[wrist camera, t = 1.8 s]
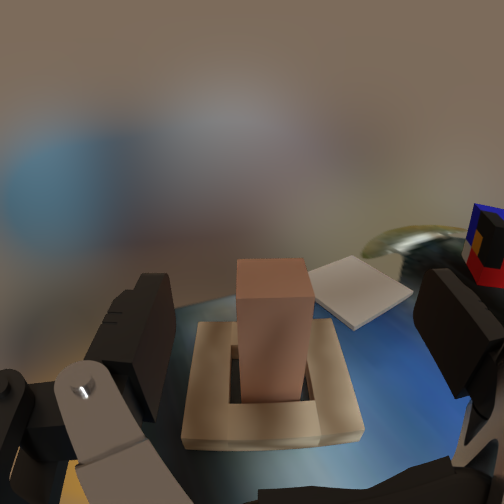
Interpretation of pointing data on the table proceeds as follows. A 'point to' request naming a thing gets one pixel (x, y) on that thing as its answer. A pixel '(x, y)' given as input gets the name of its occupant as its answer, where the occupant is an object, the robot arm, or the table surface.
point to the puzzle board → (268, 414)
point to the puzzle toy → (485, 246)
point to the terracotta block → (273, 328)
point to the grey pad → (355, 291)
